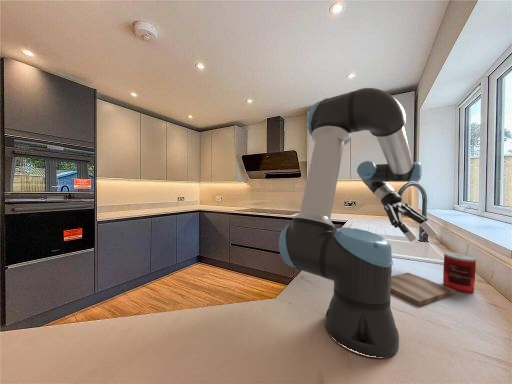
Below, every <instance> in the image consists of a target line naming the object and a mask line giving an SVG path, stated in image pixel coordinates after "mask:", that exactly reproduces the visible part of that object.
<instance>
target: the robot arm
mask: <svg viewBox="0 0 512 384" xmlns="http://www.w3.org/2000/svg"><path fill="white" fill-rule="evenodd" d="M306 119H307V121H306V123H307V130H308V133H309V135H310V137H311V139H312V141H313V142H314V143H313V144H314V145H313V149H312V154H311V159H310V164H309V168H308V173H307V176H306V177H307V178H306V181H305V185H304V186H305V187H304V191H303V196H302V200H301V205H300V210H299V213H298V214H296V215H294V216H293V218H292V221H291V224H288V225H286V226H285V227H284V228H283V229H282V230H281V232H280V235H279V238H278V239H279V240H278V250H279V254H280V256H281V259H282V260H283V261H284V263H285V264H286V265H288V266H289V267H292V268H294V269H296V270H298V271H303V272H305V273H309V274H312V275H315V276H318V277H321V278H324V279H326V280H329V281H333V295H332V297H331V300H330V302H329V304H328V308H327V310H326V313H325V321H324V323H325V325H324V326H326V327H325V330H326V329H327V330H326V332H327V331H328V332H327V334H328V333H329V334H330V335H331V336H332V337H333V338H334V339H335V340H336V341H337V342H339V343H340V344H342V345H344V346H346V347H347V348H349V349H352V350H354V351H357V352H359V353H362V354H365V355H369V356H376V357H387V356H391V357H393V356H394V355H396V354H395V353H398V351H399V348H400V334H399V331H398V328H397V325H396V322H395V318H394V315H393V312H392V308H391V294H392V293H391V277H392V266H393V264H394V261H393V256H392V253H393V251H392V245H391V243H390V242H389V241H388V240H387V239H386V238H385V237H384V236H381V235H380V234H377V233H374V232H372V231H368V230H364V229H361V228H355V227H354V228H352V227H345V226H343V227H338V228H336V229H335V224H334V223H333V222H332V221H331V216H332V211H333V206H334V201H335V200H334V199H335V195H336V189H337V184H338V178H339V173H340V167H341V163H342V162H341V161H342V158H343V157H342V156H343V152H344V146H346V145H347V144H348V143H349V142H350V141H351V136H352V133H358V132H361V131H369V132H370V134H371V135H372V136H374V137H375V138H376V140H377V142H378V145H379V146H380V148H381V149H380V150H381V151H382V154H383V156H384V159H385V161H386V163H377V164H375V162H373V161H371V160H370V161H369V160H365V161H362V162H361V163H359V164H358V166H357V169H356V173H357V174H358V177H359V179H361V181H362V183H364V185H365V186H366V187H367V188H368V189H369V191H371V193H372V194H373V195H374V196H375V197H376V199H377V200H379V202H380V203H381V205H382V206H383V210H384V211H385V212H386V214H387V215H386V216H388V219H389V222H390V225H391V226H393V227H394V228H395V229H397V228H398V229H399V230H400V231H401V232H402V233H403V235H404V236H405V237H406V238H407V240H408V241H409V242H412V243H413V241H415V240H417V239H418V237H417V235H416V234H415V233H414V232H413V231H412V230H411V228H410V227H409V226H408V225H407V223H405V222H403V219H402V218H403V217H402V216H404V217H405V216H406V217H408V218H410V219H411V220H413V221H415V222H416V223H417V224H419V227H421V229H423V230H424V232H426V234H427V235H428V236H429V238H431V239H434V238H436V237H437V236H439V233H437V231H436V230H435V229H434V228H433V227H432V226H431V225H430V224H429V223H428V222H427V221H428V220H429V219H428V217H426V216H425V215H424V214H422V213H420V212H419V211H418V210H416V209H415V208H414V207H412V206H411V205H410V204H409V203H405V204H404V203H402V201H403V198H402V196H401V195H400V194H398V192H396V190H395V189H394V188H393V187H392V186H391V185H390V184H389V182H390V183H391V182H393V183H394V182H395V183H396V182H397V183H398V182H401V183H410V182H411V183H412V182H419V181H420V180H421V179H422V173H423V172H422V171H423V170H422V163H421V162H418V161H413V158H412V155H411V150H410V147H409V143H408V138H407V135H406V130H405V125H406V123H407V122H406V121H407V116H406V112H405V109H404V107H403V106H402V104H401V103H400V102H399V101H398V99H396V98H395V97H394V96H393V95H391V94H390V93H388V92H386V91H384V90H382V89H379V88H375V87H363V88H359V89H356V90H353V91H350V92H346V93H343V94H338V95H336V96H332V97H328V98H327V97H326V98H324V99H322V100H319V101H317V102H315V103H314V104H313V105H312V106H311V107H310V109H309V111H308V114H307V118H306ZM329 334H328V335H329ZM330 335H329V336H330ZM331 336H330V337H331ZM337 342H336V343H337ZM393 354H394V355H393ZM392 355H393V356H392Z"/></svg>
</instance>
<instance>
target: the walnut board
mask: <svg viewBox="0 0 512 384" xmlns="http://www.w3.org/2000/svg"><path fill="white" fill-rule="evenodd" d="M455 292H456V290H454V289H452V288H449V287H446V286H445V285H444V284H440V283H437V282H434V281H433V280H432V281H431V280H429V279H427V278H423V277H421V276H419V275H416V274H413V273H410V272H404V273H400V274H396V275H391V294H393V295H395V296H396V297H400V298H401V299H403V300H406V301H407V302H409V303H412V304H414V305H415V306H418V307H423V306H425V305H428V304H431V303H433V302H434V303H435V302H437V301H439V300H443V299H446V298H448V297H451V296H454V295H455Z"/></svg>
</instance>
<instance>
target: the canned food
mask: <svg viewBox="0 0 512 384" xmlns="http://www.w3.org/2000/svg"><path fill="white" fill-rule="evenodd" d="M476 259H477V258H476V257H474V256H472V255H469V254H466V253H461V252H453V251H445V252H444V254H443V273H442V274H443V275H442V277H443V279H442V282H443V286H446V287H449V288H452V289H454V290H455V292H460V293H465V294H471V293H473V292H474V291H475V287H476V286H475V285H476V267H477V266H476V265H477V264H476V263H477V260H476Z"/></svg>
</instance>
